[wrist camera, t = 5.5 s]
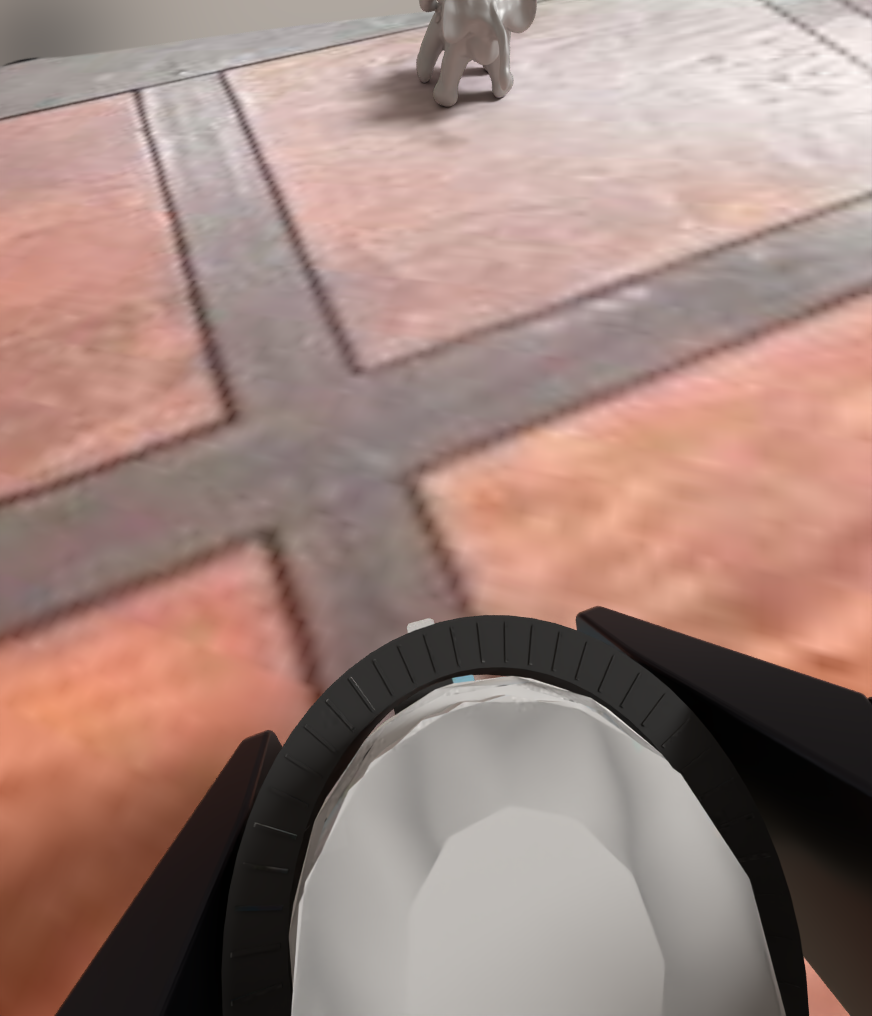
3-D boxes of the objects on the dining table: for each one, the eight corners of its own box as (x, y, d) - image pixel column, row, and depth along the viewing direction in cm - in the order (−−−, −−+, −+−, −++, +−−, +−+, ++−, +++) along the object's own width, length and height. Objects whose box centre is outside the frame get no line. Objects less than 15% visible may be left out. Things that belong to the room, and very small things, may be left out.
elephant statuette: (476, 62, 42) (481, -69, 35) (565, 108, 37) (590, -30, 30) (398, 94, 39) (386, -38, 32) (482, 148, 35) (489, 9, 28)
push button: (341, 650, 14) (151, 548, 4) (501, 606, 14) (628, 433, 5) (387, 917, 11) (157, 2013, 2) (582, 847, 12) (1148, 1407, 2)
